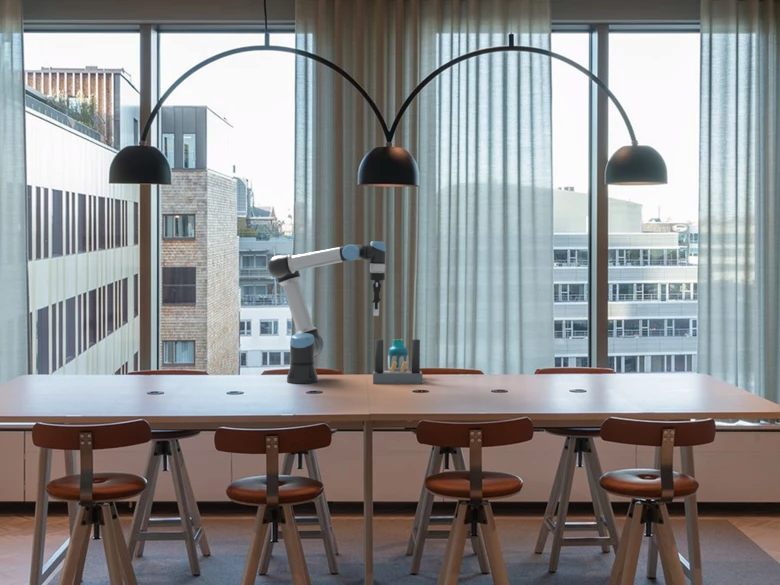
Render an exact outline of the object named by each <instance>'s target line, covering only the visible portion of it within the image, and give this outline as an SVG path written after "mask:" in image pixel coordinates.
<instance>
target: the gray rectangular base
mask: <svg viewBox="0 0 780 585" xmlns="http://www.w3.org/2000/svg"><path fill="white" fill-rule="evenodd" d="M372 384H373V385H378V384H379V385H380V384H381V385H390V384H392V385H394V384H395V385H397V384H398V385H399V384H400V385H401V384H403V385H404V384H406V385H408V384H410V385H411V384H413V385H414V384H415V385H417V384H418V385H419V384H423V372H422V370H420V372H419V373H413V372H412V370H408V371H389V370H383V373H376V372H375V370H372Z"/></svg>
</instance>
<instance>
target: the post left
mask: <svg viewBox="0 0 780 585" xmlns="http://www.w3.org/2000/svg"><path fill="white" fill-rule="evenodd" d="M374 344H375V345H374V347H375V349H374V353H375V354H374V362H375V363H374V371H375V372H376V373H383V371H384V339H375V341H374Z"/></svg>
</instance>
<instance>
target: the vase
mask: <svg viewBox="0 0 780 585" xmlns="http://www.w3.org/2000/svg"><path fill="white" fill-rule="evenodd" d="M394 361H395V362H397V365H396V367H395V369H394V371H402V370H400V369H401V367H402V365H403V363H404V361H405V362H407V365H406V367H405V369H404V371H409V350H408V348H407V347H405V344H404V339H403V338H396V339H392V345H391V347H389V348H388V351H387V371H391V370H390V369H391V367H392V365H393V362H394Z"/></svg>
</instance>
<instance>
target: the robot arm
mask: <svg viewBox="0 0 780 585" xmlns="http://www.w3.org/2000/svg"><path fill="white" fill-rule="evenodd" d="M386 252H387V250H386V242H384V241H375V240H372V241H371V242H370V244H355V243H353V244H351V243H349V244H346V245H343V246H337V247H332V248H327V249H321V250H317V251H311V252H306V253H305V252H304V253H301V254H295V255H292V254H286V253H285V254H277V255H274V256H273V257H271V258H270V259H269V261H268V264H267V269H268V272H269V273H270V275H271V276H272V277H274V278H276V279H277V282H278V284H279V285H280V286H282V288H283V292H284V295H285V297H286V301H287V303H288V307H289V311H290V315H291V318H292V320H293V323H294V326H295V330H296V332H295V334H292V335H291V336H290V341H289V344H290V346H289V347H290V351H289V352H290V366H289V370H288V373H287V377H286V381H287V383H289V384H290V383H291V384H313V383H317V382H318V381H319V380H318V379H319V378H318V374H317V371H316V368H315V357H317V356H319V355H320V354H321V353H322V351H323V350H324V348H325V341H324V338H323V337H322V336H321V334H319V331H318V328H317V327H315V326H314V325H313V322H312V319H311V316H310V313H309V309H308V306H307V302H306V300H305V296H304V294H303V291H302V287H301V284H300V279H301V273H300V271H301V270H302V271H303V270H308V269H313V268H317V267H323V266H328V265H333V264H338V263H339V264H340V263H344V262H350V261H360V260H361V261H369V272H370V273H369V280H370V281H374V283H372V290H373V291H372V292H374V293H373V300H372V303H373V313H372V314H373V315H372V316H373V317H379V316H380V301H381V298H380V292H381V287H382V284H381V283H380V281H385V280H386V278H385V277H386V273H385V271H386V268H387V266H386Z"/></svg>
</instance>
